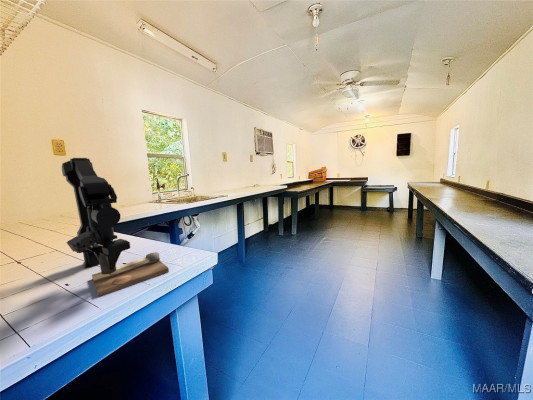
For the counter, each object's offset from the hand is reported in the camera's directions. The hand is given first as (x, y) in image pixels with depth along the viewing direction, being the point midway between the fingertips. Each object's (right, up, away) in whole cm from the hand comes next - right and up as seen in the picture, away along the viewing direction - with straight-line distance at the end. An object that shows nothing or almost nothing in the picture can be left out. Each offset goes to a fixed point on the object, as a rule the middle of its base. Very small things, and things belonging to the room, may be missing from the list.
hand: (107, 267), depth 71 cm
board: (+5, -4, +5) cm, 8 cm away
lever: (+4, -2, +6) cm, 8 cm away
